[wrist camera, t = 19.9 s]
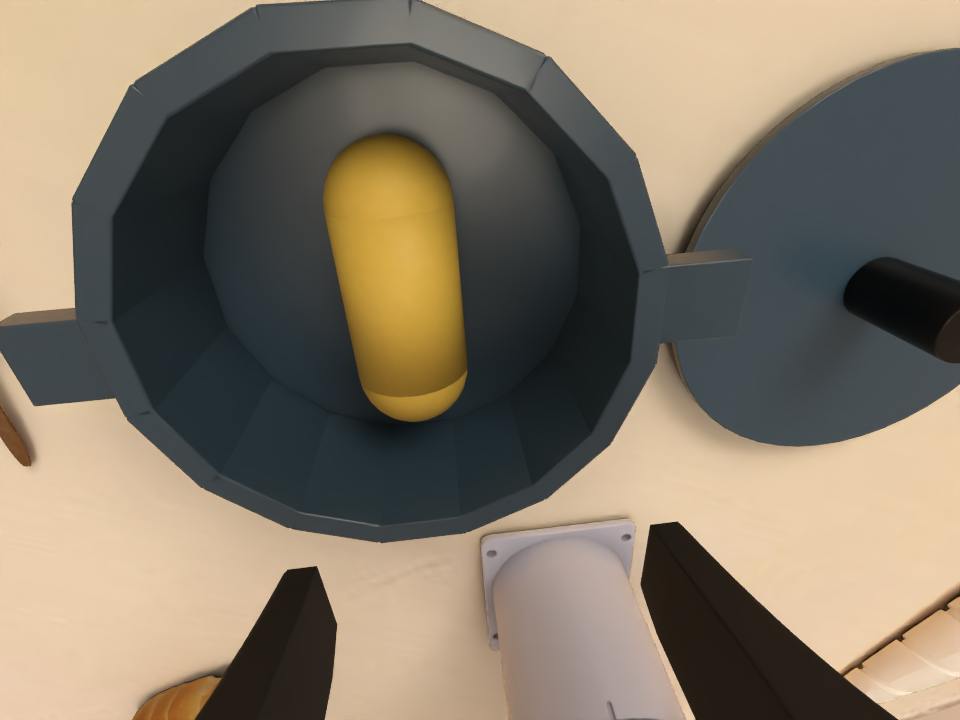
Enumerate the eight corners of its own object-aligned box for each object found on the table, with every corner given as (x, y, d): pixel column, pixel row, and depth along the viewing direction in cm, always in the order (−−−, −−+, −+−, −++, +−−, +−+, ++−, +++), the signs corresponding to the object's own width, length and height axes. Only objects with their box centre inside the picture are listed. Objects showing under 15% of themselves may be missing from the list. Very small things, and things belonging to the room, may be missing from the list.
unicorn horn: (753, 706, 36) (796, 786, 32) (1069, 502, 28) (1182, 573, 24) (790, 720, 38) (836, 798, 34) (1099, 530, 30) (1210, 602, 26)
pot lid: (954, 414, 24) (1074, 487, 19) (644, 448, 23) (696, 533, 19) (1144, 35, 16) (1412, 14, 12) (694, 66, 16) (801, 56, 11)
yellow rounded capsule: (463, 378, 20) (479, 434, 17) (369, 392, 20) (367, 452, 16) (439, 125, 15) (456, 133, 12) (317, 134, 15) (299, 146, 12)
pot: (646, 407, 22) (714, 504, 17) (191, 455, 21) (113, 575, 16) (696, 12, 15) (841, -31, 10) (12, 55, 14) (-239, 33, 9)
